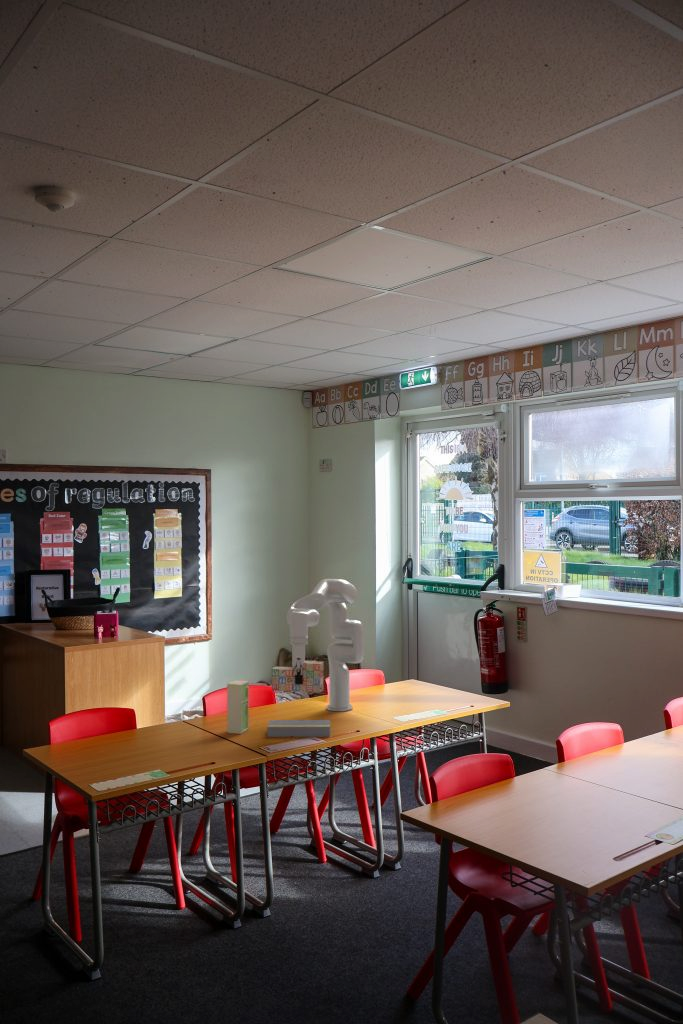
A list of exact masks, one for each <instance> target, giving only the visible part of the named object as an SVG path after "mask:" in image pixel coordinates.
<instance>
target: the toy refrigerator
mask: <svg viewBox="0 0 683 1024" xmlns="http://www.w3.org/2000/svg"><path fill="white" fill-rule="evenodd" d="M226 689H227V690H226V691H227V693H226V698H227V699H226V701H227V703H226V705H227V707H226V709H227V711H226V713H227V715H226V720H227V723H226V724H227V725H226V730H227V731H226V732H227V733H228V734H237V735H238V734H239V735H241V734H243V733H246V732H247V731H249V726H250V722H249V721H250V719H249V717H250V716H249V715H250V710H249V709H250V705H249V704H250V703H249V701H250V699H249V698H250V697H249V696H250V694H249V693H250V690H249V689H250V681H249V680H237V679H236V680H233V681H230V682H228V683H227V684H226Z"/></svg>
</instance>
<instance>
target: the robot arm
mask: <svg viewBox="0 0 683 1024" xmlns="http://www.w3.org/2000/svg"><path fill="white" fill-rule="evenodd" d="M357 598H358V591H357V588H356V587H355V585H353V583H350V582H349V581H347V580H345V579H342V578H341V579H339V578H337V579H335V578H324V579H321V580H320V581H319V582H318V583H317V585H316V586H315V587H314V589H313V590H312V591H311V593H310V594H308V595H306V596H303V597H301V598H300V599H297V600H295V601H294V602H293V604H292V605H290V608H289V609H288V611H287V613H286V621H287V624H288V625H289V632H290V633H289V636H290V637H289V638H290V642H289V644H290V645H292V653H291V655H292V657H291V658H292V660H291V662H292V665H291V667H292V668H294V667H295V666H296V671H295V684H303V675H302V668H303V667H304V662H305V661H306V645H308V644H309V627H310V628H311V627H315V626H317V625H318V624H319V622H320V620H321V615H320V613H319V611H320V610H322V609H324V608H325V607H328V611H329V626H330V628H329V631H330V636H331V638H332V639H335V640H339V641H335V642H332V643H330V644H329V645H328V646H327V651H326V654H327V659H328V668H329V673H328V675H329V677H328V678H329V680H328V681H329V689H328V691H329V693H328V694H329V699H328V700H329V704H327V705H326V706H325V709H326V710H328V711H330V712H331V711H332V712H348V711H351V710H353V706H354V705H352V704H350V670H349V667H348V666H347V664H360V663H362V662H363V660H364V658H365V657H364V656H365V635H364V626H363V623H362V622H361V621H360V620H356V619H349V615H348V612H349V610H348V607H347V605H346V604H353V603H355V602H356V600H357ZM340 640H341V641H340ZM343 641H346V642H343ZM347 641H351V642H347ZM300 666H301V667H300Z"/></svg>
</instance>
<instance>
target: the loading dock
mask: <svg viewBox="0 0 683 1024" xmlns="http://www.w3.org/2000/svg"><path fill="white" fill-rule="evenodd" d="M266 728H267V729H266V730H267V737H268V738H269V737H272V738H273V737H275V738H276V737H277V738H279V737H280V738H282V737H284V738H285V737H286V738H287V737H288V738H290V737H291V736H293V738H294V737H295V738H297V737H301V738H303V737H306V738H307V737H308V738H310V737H311V738H312V737H315V738H317V737H318V738H319V737H325V738H326V737H327V738H329V737H331V720H330V719H280V720H279V719H271V720H269V721H268V725H267V727H266ZM291 738H292V737H291Z"/></svg>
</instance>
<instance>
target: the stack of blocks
mask: <svg viewBox="0 0 683 1024" xmlns="http://www.w3.org/2000/svg"><path fill="white" fill-rule="evenodd" d="M300 667H301V666H300ZM295 671H296V666H295V667H294V668H292V666H275V667H273V668H271V691H279V692H295V693H296V692H299V693H316V694H317V693H318V694H319V693H322V692H323V691H324V673H325V672H324V671H325V670H324V661H319V660H305V662H304V667H303V668H302V675H303V684H295Z"/></svg>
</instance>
